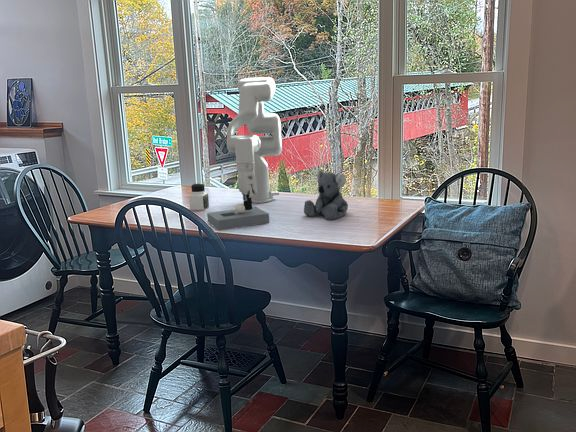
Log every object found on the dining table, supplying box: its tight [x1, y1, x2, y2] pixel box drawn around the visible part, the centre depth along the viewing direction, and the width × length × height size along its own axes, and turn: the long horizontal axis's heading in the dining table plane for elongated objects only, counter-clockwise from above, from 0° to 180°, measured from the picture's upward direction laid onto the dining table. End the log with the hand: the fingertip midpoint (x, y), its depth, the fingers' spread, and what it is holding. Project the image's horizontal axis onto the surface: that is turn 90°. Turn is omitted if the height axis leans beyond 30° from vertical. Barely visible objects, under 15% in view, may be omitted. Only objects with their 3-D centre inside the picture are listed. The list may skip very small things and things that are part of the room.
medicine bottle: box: [188, 182, 210, 211], centre depth 271 cm, size 7×7×12 cm
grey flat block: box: [206, 206, 270, 231], centre depth 242 cm, size 22×16×4 cm
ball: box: [235, 203, 245, 213], centre depth 241 cm, size 4×4×4 cm
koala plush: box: [303, 169, 349, 221], centre depth 247 cm, size 17×18×20 cm
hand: (248, 209), depth 243 cm, fingers closed
